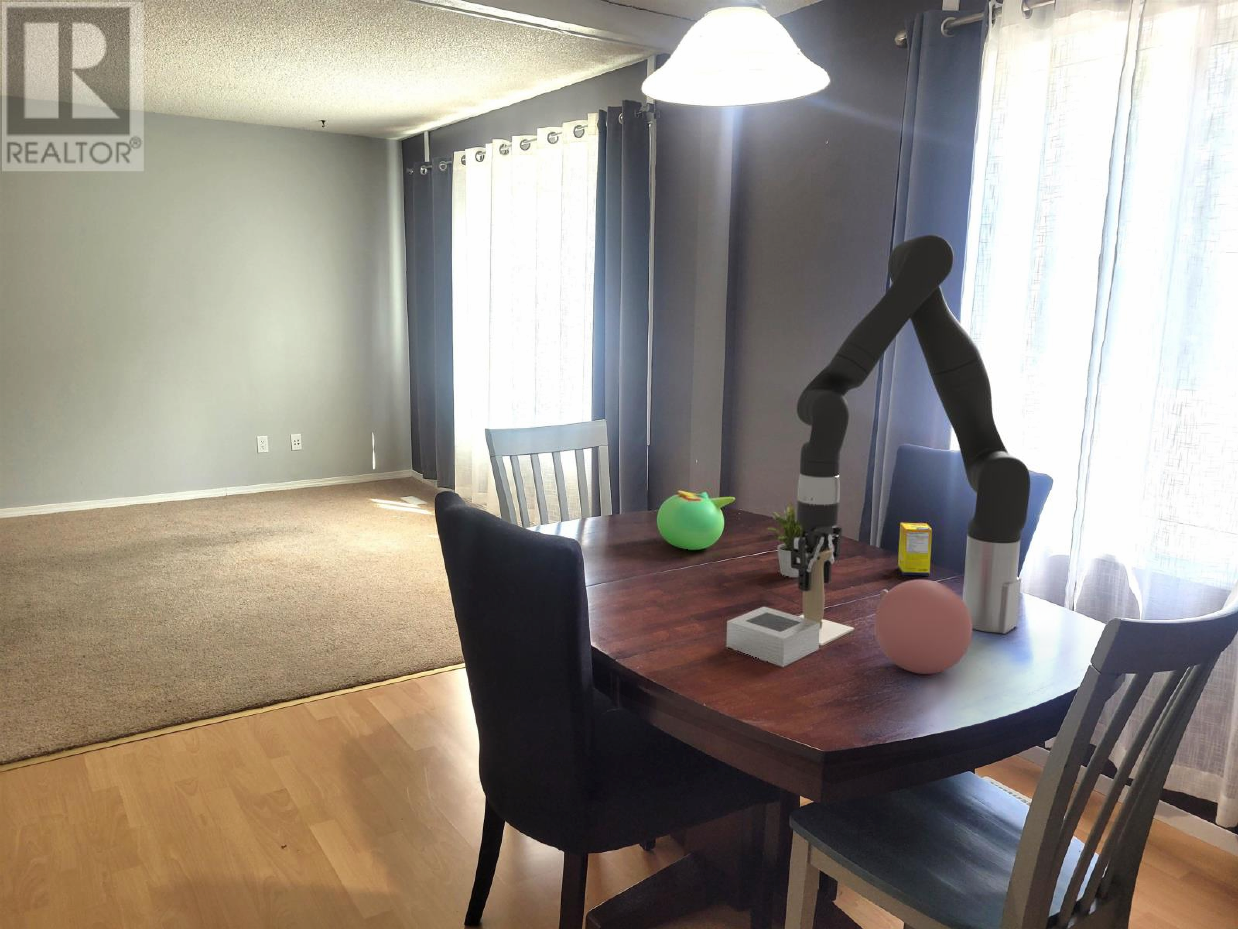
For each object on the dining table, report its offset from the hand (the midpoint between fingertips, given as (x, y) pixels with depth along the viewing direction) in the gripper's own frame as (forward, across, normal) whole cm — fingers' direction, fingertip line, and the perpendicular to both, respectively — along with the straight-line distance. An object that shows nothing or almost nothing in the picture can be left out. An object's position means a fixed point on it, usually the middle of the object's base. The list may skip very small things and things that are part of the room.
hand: (814, 585), depth 166 cm
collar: (+9, -13, 0) cm, 16 cm away
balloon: (+9, -2, -21) cm, 23 cm away
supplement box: (+9, +48, +4) cm, 49 cm away
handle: (+8, 0, 0) cm, 8 cm away
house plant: (+9, +26, +22) cm, 35 cm away
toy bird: (+9, +28, +53) cm, 61 cm away
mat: (+9, 0, 0) cm, 9 cm away
